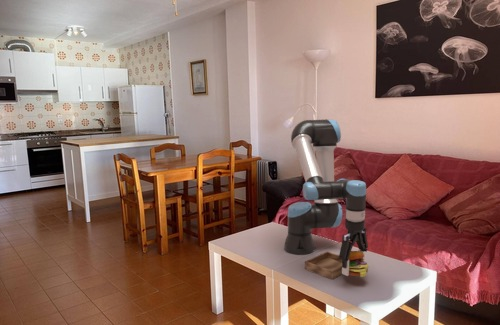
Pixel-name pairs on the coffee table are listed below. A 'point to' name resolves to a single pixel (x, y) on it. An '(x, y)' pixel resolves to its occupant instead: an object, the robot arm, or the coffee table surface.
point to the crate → (325, 265)
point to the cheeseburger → (357, 264)
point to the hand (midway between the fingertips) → (353, 270)
